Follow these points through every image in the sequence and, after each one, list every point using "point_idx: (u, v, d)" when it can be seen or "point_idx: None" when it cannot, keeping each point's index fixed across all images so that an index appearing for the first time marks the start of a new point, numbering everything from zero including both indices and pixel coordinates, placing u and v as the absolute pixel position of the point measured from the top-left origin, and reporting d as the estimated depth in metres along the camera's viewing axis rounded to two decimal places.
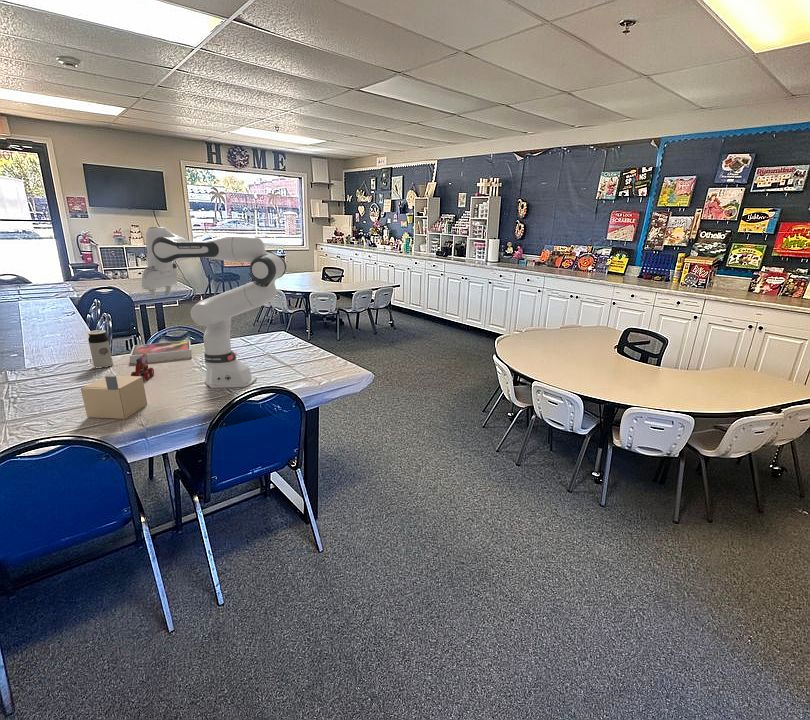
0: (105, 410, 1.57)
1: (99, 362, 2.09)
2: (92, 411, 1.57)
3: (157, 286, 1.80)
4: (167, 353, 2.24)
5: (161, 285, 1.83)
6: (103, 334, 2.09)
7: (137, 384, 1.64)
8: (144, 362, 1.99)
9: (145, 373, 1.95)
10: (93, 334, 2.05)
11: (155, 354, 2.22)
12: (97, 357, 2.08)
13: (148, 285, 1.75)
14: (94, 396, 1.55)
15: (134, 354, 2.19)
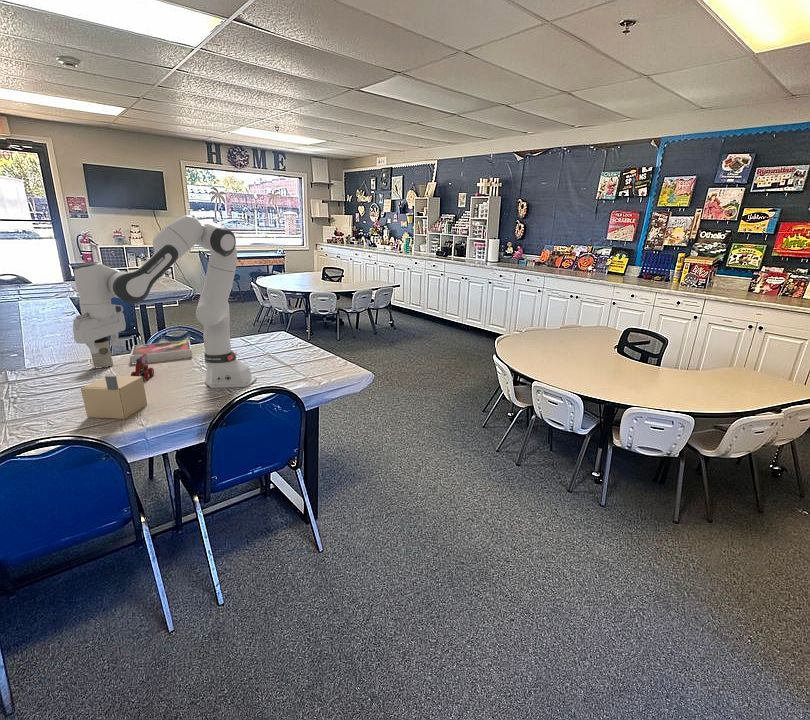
0: (105, 410, 1.57)
1: (99, 362, 2.09)
2: (92, 411, 1.57)
3: (96, 337, 1.43)
4: (168, 353, 2.24)
5: (102, 335, 1.46)
6: None
7: (137, 384, 1.64)
8: (144, 362, 1.99)
9: (145, 373, 1.95)
10: None
11: (156, 354, 2.22)
12: (97, 357, 2.08)
13: (82, 338, 1.38)
14: (94, 396, 1.55)
15: (134, 354, 2.19)
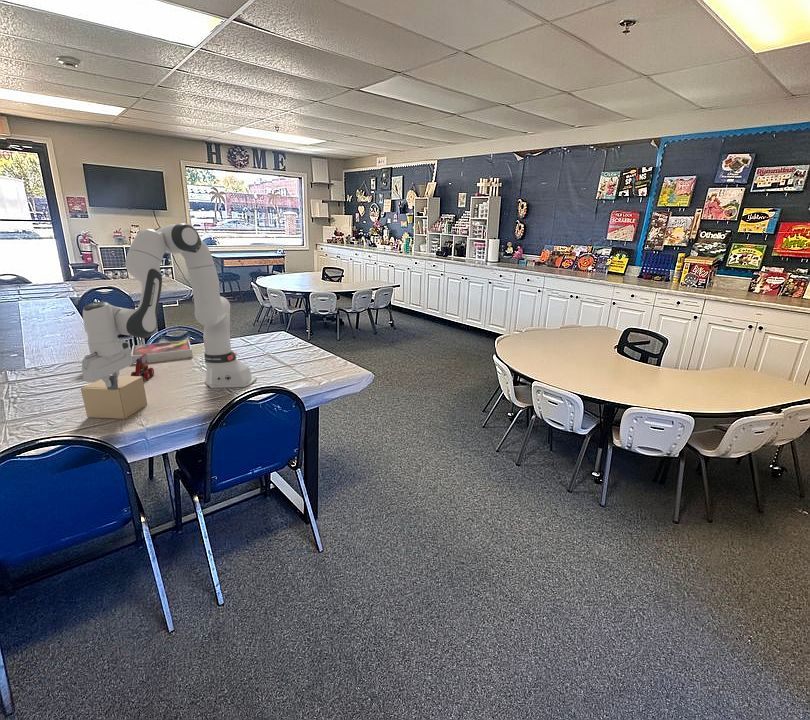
0: (105, 410, 1.57)
1: None
2: (92, 411, 1.57)
3: (104, 375, 1.47)
4: (168, 353, 2.24)
5: (109, 372, 1.50)
6: None
7: (137, 384, 1.64)
8: (144, 362, 1.99)
9: (145, 373, 1.95)
10: None
11: (156, 354, 2.22)
12: None
13: (90, 377, 1.42)
14: (94, 396, 1.55)
15: (135, 354, 2.19)
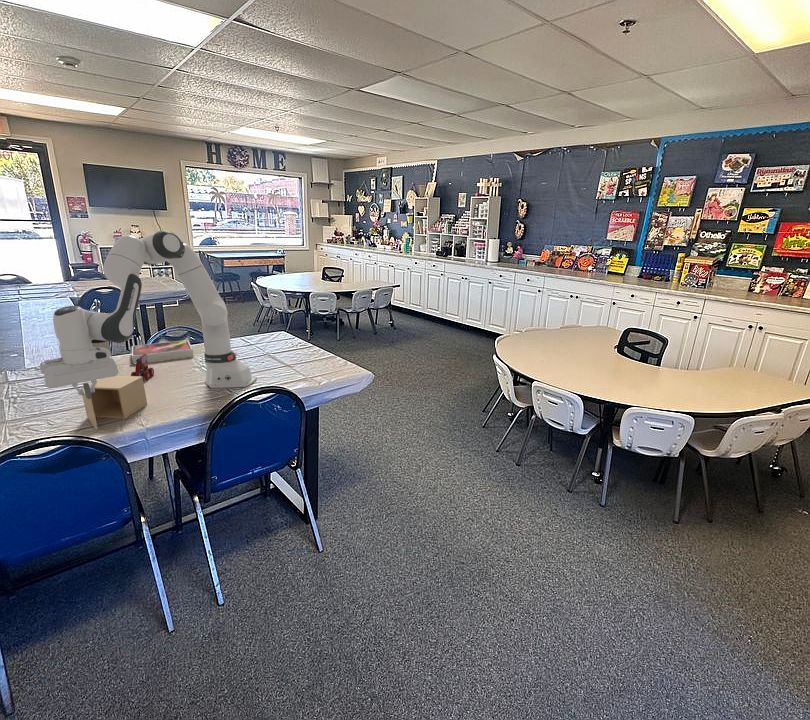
0: (90, 416, 1.52)
1: None
2: (87, 413, 1.55)
3: (65, 383, 1.40)
4: (169, 353, 2.25)
5: (76, 381, 1.42)
6: None
7: (137, 384, 1.64)
8: (144, 362, 1.99)
9: (145, 373, 1.95)
10: None
11: (157, 354, 2.22)
12: None
13: (45, 383, 1.37)
14: (85, 399, 1.52)
15: (135, 354, 2.18)
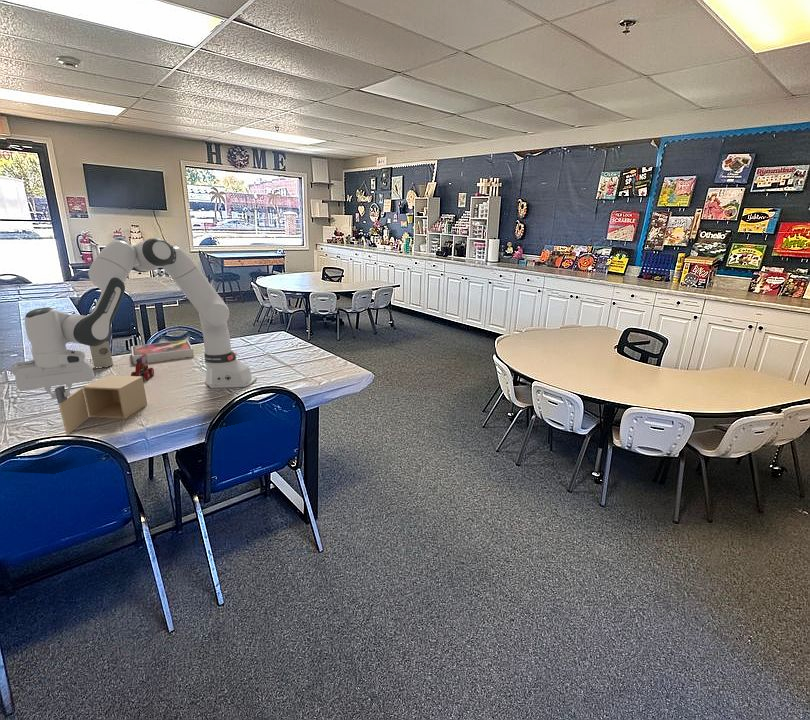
0: None
1: (99, 362, 2.09)
2: None
3: (37, 386, 1.37)
4: (169, 353, 2.25)
5: (48, 384, 1.38)
6: None
7: (137, 384, 1.64)
8: (144, 362, 1.99)
9: (145, 373, 1.95)
10: None
11: (158, 354, 2.22)
12: (97, 357, 2.08)
13: None
14: None
15: (136, 354, 2.18)
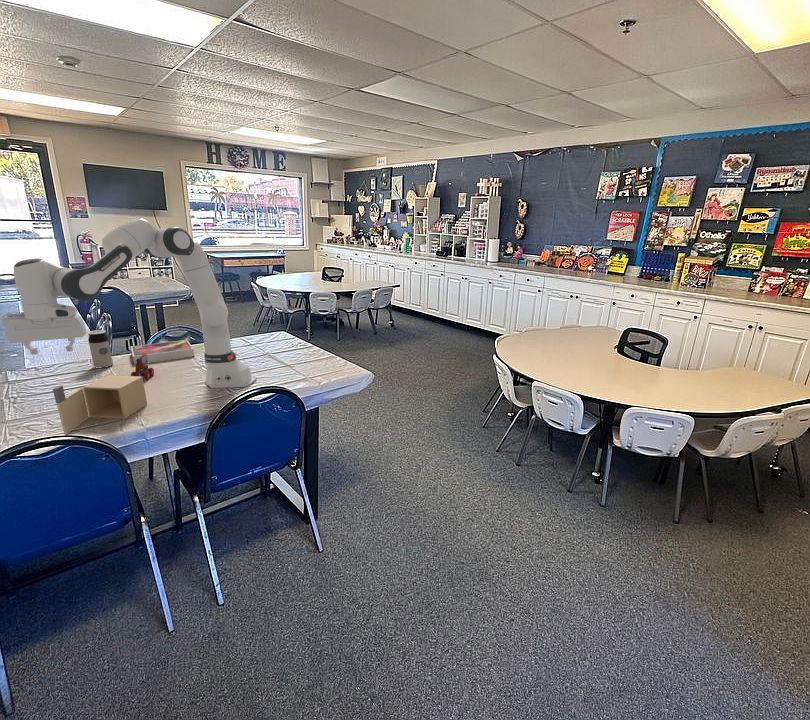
0: None
1: (99, 362, 2.09)
2: None
3: (27, 339, 1.34)
4: (170, 352, 2.25)
5: (38, 338, 1.35)
6: (103, 334, 2.09)
7: (137, 384, 1.64)
8: (144, 362, 1.99)
9: (145, 373, 1.95)
10: (93, 334, 2.05)
11: (158, 354, 2.22)
12: (97, 357, 2.08)
13: None
14: None
15: (137, 355, 2.18)
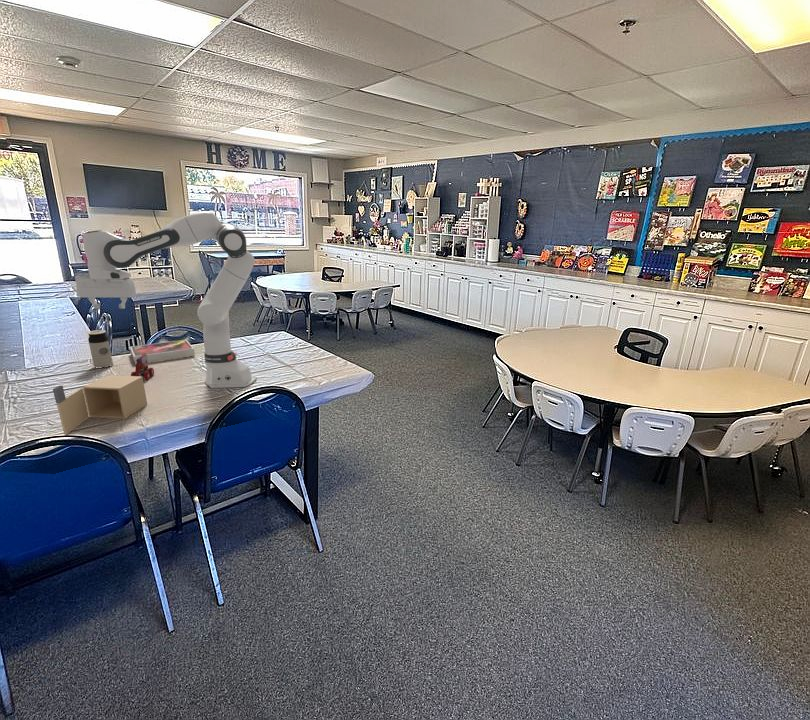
0: None
1: (99, 362, 2.09)
2: None
3: (91, 295, 1.65)
4: (171, 352, 2.25)
5: (98, 295, 1.65)
6: (103, 334, 2.09)
7: (137, 384, 1.64)
8: (144, 362, 1.99)
9: (145, 373, 1.95)
10: (93, 334, 2.05)
11: (159, 354, 2.22)
12: (97, 357, 2.08)
13: None
14: None
15: (137, 355, 2.18)
